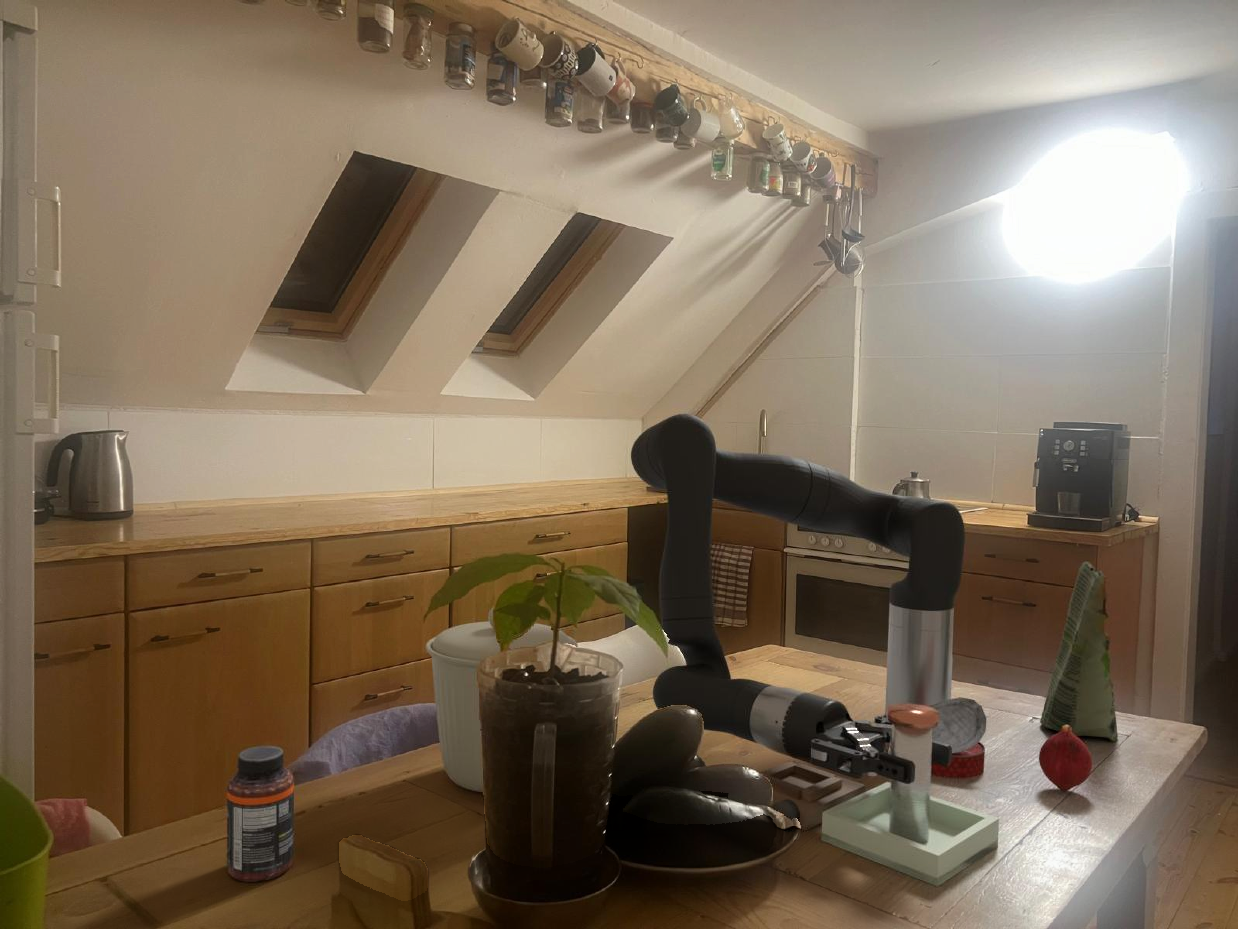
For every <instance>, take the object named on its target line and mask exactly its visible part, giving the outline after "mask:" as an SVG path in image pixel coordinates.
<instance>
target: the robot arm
mask: <svg viewBox="0 0 1238 929" xmlns="http://www.w3.org/2000/svg"><path fill="white" fill-rule="evenodd" d="M716 445H717V444H716V440H715V437H714V434H713V431H712V430H711V428H710V426H709V425H708V424H707V423H706V422H705V421H704V420H702V419H701V418H699V417H698V416H697V415H693V414H691V413H678V414H675V415H671V416H670V417H667V418H665V419H663V420H661V421H660V422H659V423H656V424H654V425H652V426H649V428H647V429H646V430H644V432H641V434H640V435H639V436H638V437H637V438H636V439H635V441H634V442H633V444H632V447H631V451H630V460H631V465H632V467H633V470H634V471H635V473H636V475H637V476H638V477H639V478H640V479H641V480H642V482H644V483H645V484H647V485H649V486H650V487H652V488H654V489H657V490H659V491H663V492H666V497H667V527H666V529H667V530H666V534H665V542H664V547H663V553H662V557H661V562H660V570H659V580H658V597H659V610H660V620H661V622H660V628H661V627H662V628H663V630H664V632H665V633H666V634H667V637H668V638H669V639H670V640H669V642H668V643H667V644H669V645H671V646H674V647H678V648H679V649H680V650H681V653H682V655H683V658H684V661H685V664H684V665H676V666H671V667H669V668H667V669H665V670H663V671H662V672H661V673H660V674H659V675H658V676H657V678H656V679H655V681H654V683H653V688H652V698H653V701H654V705H655V707H656V708H657V710H658V709H660V708H664V707H667V706H671V705H687V706H690V707H692V708H695V709H697V710H698V712H700V713H701V714H702V718H703V721H704V731H712V732H718V733H723V734H724V733H725V734H729V735H732V736H734V737H737V738H740V739H743V740H746V741H748V742H752V743H754V744H758V745H761V746H763V747H765V748H766V749H769V750H771V751H772V752H775V753H778V754H781V755H784V756H786V757H789V758H793V759H797V760H799V761H801V762H804V763H808V764H811V765H812V766H815V767H817V768H818V767H819V768H822V769H825V770H828V771H831V772H833V773H837V774H840V775H844V776H847V777H848V778H849V777H850V778H853V779H857V780H858V779H862V778H863V774H865V775H867V776H869V777H877V776H881V777H883V778H886V779H890V780H891V779H893V780H896V781H899V782H902V783H905V784H910V783H912V782H914V780H915V764H914V763H913V762H912V761H910V760H907V759H904V758H900V757H897V756H894V755H892V726H893V724H892V723H890V722H889V721H888V720H887V706H889V705H891V704H897V703H910V704H919V705H924V706H931V705H934V704H936V703H938V702H941V701H943V700H949V699H952V682H953V681H952V680H953V660H954V659H953V643H954V642H953V639H954V637H953V636H954V618H955V616H954V614H955V613H954V612H955V608H954V607H955V600H956V599H955V598H956V596H957V593H958V592H959V590H960V588H961V587H960V586H961V584H962V583H961V582H962V573H963V564H964V552H965V544H966V543H965V542H966V538H965V537H966V532H965V530H966V529H965V524H964V519H963V516H962V514H961V512H960V510H959V509H958V508H957V506H955V505H954V504H952V503H950V502H949V501H945V500H941V499H935V498H926V497H921V496H919V497H918V496H908V495H907V496H905V495H899V494H892V493H887V492H881V491H877V490H873V489H869V488H866V487H863V486H861V485H860V484H858V483H856V482H854V481H853V480H852V479H850V478H849V477H847V476H845V475H843V474H842V473H840V472H838V471H836V470H834V469H831V468H829V467H827V466H824V465H821V464H818V463H814V462H811V461H808V460H805V459H802V458H797V457H793V456H789V455H788V456H786V455H781V454H770V453H749V452H748V453H747V452H735V451H728V450H725V449H720V448H717V446H716ZM714 500H716V501H719V502H723V503H727V504H730V505H731V506H734V507H738V508H741V509H743V510H747V511H751V512H752V513H756V514H760V515H763V516H765V517H766V516H767V517H769V518H773V519H776V520H778V521H781V522H785V523H787V524H788V523H789V524H792V525H794V526H799V527H802V528H806V529H809V530H815V531H821V532H826V533H837V534H845V535H851V536H855V537H859V538H862V539H863V540H866V541H867V542H868V541H869V542H872V543H873V544H876V545H878V546H881V547H883V548H884V549H888V550H890V551H892V552H894V553H896V554H899V555H901V556H903V557H907V558H909V560H908V568H907V573H906V576H905V577H904V578H902V579H901V580H898V581H895V582H893V583H892V584H891V585H890V590H889V608H888V609H889V610H888V636H887V637H888V639H887V656H886V657H887V659H886V666H887V667H886V684H885V708H884V709H885V710H884V711H885V712H884V714H885V717H884V716H882V715H876V716H874V722H871V721H870V720H868V719H856V720H853V719H852V717H851V715H850V714H849V711H848V709H847V708H846V706H845V705H844V703H843V702H841V701H839V700H836V699H833V698H828V697H824V696H821V695H817V694H813V693H810V692H807V691H803V690H798V689H795V688H790V687H786V686H785V687H784V686H776V685H773V684H770V683H766V682H762V681H758V680H752V679H747V678H732V676H731V672H730V668H729V665H728V663H727V659H726V655H725V653H724V650H723V647H722V643H721V640H720V638H719V636H718V632H717V630H716V619H715V617H716V616H715V603H714V592H713V590H714V589H713V580H712V559H711V557H712V551H711V550H712V522H713V504H714ZM662 628H661V629H662ZM886 744H888V745H889V748H888V749H886ZM931 762H932V763H935V764H939V765H942V766H947V765H950V764H951V762H952V747H951V746H950V745H949V744H945V743H942V742H938V741H935V740H932V761H931ZM846 765H848V766H846ZM849 766H850V767H849Z"/></svg>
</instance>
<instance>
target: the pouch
mask: <svg viewBox="0 0 1238 929" xmlns="http://www.w3.org/2000/svg"><path fill="white" fill-rule="evenodd" d="M1106 582H1107V581H1106V575H1104V572H1103V570H1099V571H1097V570H1096V566H1095V565H1094V566H1093V564H1092V563H1091V562H1089V561H1083V562H1082V563H1081V564H1080V567H1079V568H1078V574H1077V577H1076V580H1075V584H1074V587H1073V592H1072V594H1071V597H1070V601H1069V603H1068V604H1069V605H1068V611H1067V615H1066V620H1065V625H1064V630H1063V632H1062V637H1061V641H1060V645H1059V649H1058V652H1057V656H1056V660H1055V664H1054V667H1053V670H1052V675H1051V679H1050V682H1049V686H1048V690H1047V694H1046V697H1045V701H1044V705H1043V710H1042V712H1041V717H1040V719H1039V722H1040V723H1039V724H1041V725H1042V726H1043V727H1045V728H1047V729H1051V730H1054V731H1056V732H1058V733H1059V732H1060V731H1061V730H1062V726H1064V725H1068V726H1070V727H1071V728H1072V730H1071V731H1072V733H1073V734H1074V735H1075V736H1077V737H1078V736H1086V737H1098V738H1106V739H1108V741H1111V742H1116V741H1117V739H1118V737H1119V735H1118V726H1117V724H1118V723H1117V718H1116V717H1117V716H1116V707H1115V704H1114V702H1115V694H1114V690H1113V689H1114V688H1113V686H1114V685H1113V681H1112V678H1111V659H1110V656H1109V653H1108V650H1110V646H1111V645H1110V642H1111V639H1110V638H1111V636H1110V635H1109V634H1108V633H1107V632H1106V631H1105V623H1106V621H1107V620H1108V619H1110V616H1109V614H1108V613H1107V608H1106V602H1107V592H1106V586H1107V583H1106Z"/></svg>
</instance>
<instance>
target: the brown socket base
mask: <svg viewBox="0 0 1238 929" xmlns="http://www.w3.org/2000/svg"><path fill="white" fill-rule="evenodd" d="M760 773H761V774H763V776H765V777H767V778H768V779H769V780H770V783H771V784H772V787H773V805H772V808H773V809H774V810H776V811H779V812H780V813H782V814H784V816H786V817H787V818H789V819H791V820H792V819H793V818H797V819H798V821H799V822H800V825H801V829H800V830H801V831H803V832H805V831H808V830H809V829H812V828H813V827H816V826H818V825H820V824H822V812H824V811H826V810H828V809H830V808H833V807H835V806H837V805H839V804H841V803H843V802H845V801H847V800H850V799H852V798H854V797H856V796H858V795H860V794H862V793H865V792H866V784H864V783H861V782H857V781H854V780H852V779H848V778H845V777H843V776H840V775H838V774H835V773H831V772H828V771H825V770H822V769H820V768H818V767H817V768H816V767H814V766H811V765H807V764H805V763H801V762H797V760H794V761H787V762H784V763H782V764H779V765H776V766H774V767H771V768H768V769H766V770H763V771H761V772H760Z"/></svg>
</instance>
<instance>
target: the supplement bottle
mask: <svg viewBox="0 0 1238 929" xmlns="http://www.w3.org/2000/svg"><path fill="white" fill-rule="evenodd" d="M284 763H285V761H284V750H283V749H282V748H281V747H279V746H278V747H277V746H275V745H261V746H254V747H253V746H252V747H248V748H246V749H244V750H241V752H239V754H238V759H237V769H238V771H237V772H236V773H234V774H233V775H232V777H231V778H230V779H229V781H228V783H227V786H226V788H227V790H226V793H227V794H226V826H227V827H226V828H227V829H226V847H227V848H226V866H227V872H228V874H229V876H230V877H232V878H234V879H235V880H238V881H241V882H261V881H262V882H263V881H268V880H271V879H273V878H276V877H278V876H280V875H283V874H284V873H285V872H287V871H288V870H289V869H290V868H291V866H292V864H293V861H294V853H295V852H294V851H295V849H294V848H295V846H294V844H295V841H294V840H295V839H294V836H295V835H294V834H295V833H294V832H295V829H294V828H295V825H294V824H295V823H294V822H295V820H294V819H295V782H294V780H295V779H294V775H293V773H292V772H291V771H290V769H288V768H285V766H284Z"/></svg>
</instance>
